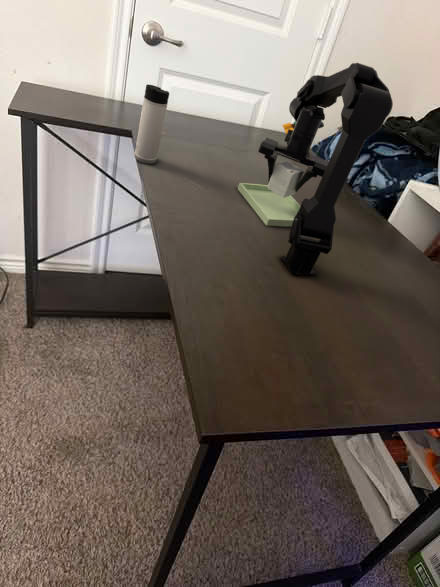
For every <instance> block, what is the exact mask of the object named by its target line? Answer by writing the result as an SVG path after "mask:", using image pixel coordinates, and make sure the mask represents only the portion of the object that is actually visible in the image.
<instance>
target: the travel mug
mask: <svg viewBox="0 0 440 587" xmlns="http://www.w3.org/2000/svg"><path fill="white" fill-rule="evenodd" d="M169 97H170V92H169V91H168V90H165V89H162V87H159V86H157V85H154V84H148V83H147V84H146V85H145V90H144V96H143V100H142V101H143V102H142V106H141V114H140V118H139V125H138V131H137V138H136V144H135V151H134V155H133V156H134V159H135V160H137V161H138V162H140V163H142V164H146V165H152V164H155V163H157V159H158V154H159V149H160V144H161V139H162V134H163V129H164V125H165V124H164V123H165V118H166V114H167V109H168V104H169Z"/></svg>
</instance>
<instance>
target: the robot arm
mask: <svg viewBox="0 0 440 587" xmlns="http://www.w3.org/2000/svg"><path fill="white" fill-rule="evenodd" d="M340 97H341V99H342V102H343V106H342V108H341V112H340V118H341V128H342V130H341V133H340V136H339V138H338V140H337V142H336V144H335V147H334V149H333V152H332V154H331V156H330V158H329V160H326V159H323V158H321V157H319V156H316V158H315V159H312V158H310V157H309V158H307V157H306V156H307V154H308V152H309V153H310V149H311V147H312V145H313V142H314V140H315V138H316V136H317V133H318V131H319V129H320V128H319V126H320V123H321V121H322V122H323V121H325V119H326V114H325V111H324V109H327V108H330V107H331V106H333V105H334V104H336V103H337V102H338V98H340ZM393 102H394V101H393V98H392V94H391V92H390V89H389V87H387V85H386V84H385V83H384V82H383V81H382V80H381V78H380V77H379V75H378V72H377V70H376V69H375V68H374V67H372V66H369V65H366V64H363V63H359V62H352V63H351V64H349V66H348V67H346V68H344V69H342V70H339V71H338V72H335V73H333V74H331V75H328V76H326V75H319V74H316V75H315V74H314V75H311V77H310V78H309V79H307V81H306V82H305V83H304V84H303V86H302V87H301V88H300V89H299V90H298V91H297V93H296V96H295V98H293V99H292V100H291V101H290V103H289V106H288V111H289V113H290V115H291V117H292V118H293V120H294V122H295V121H296V125H295V127H294V130H293V131H292V130H290V129H289V130H288V132H287V134H286V133H285V134H286V135H285V137H284V140H283V141H284V142H286V143H287V142H288V145H287V144H286V145H287V146H286V148H284V147H281V146H278V145H279V142H278V141H277V140H274V139H272V138H270V137H265V138H263V139H262V141H261V143H260V145H259V148H258V151H257V152H258V153H259V154H262V155H264V159H266V161H267V167H268V177H267V178H268V182H269V181H270V178H271V176H272V173H273V171H274V168H275V165H276V164H277V163H276V162H277V158H278V156H281V157H282V158H285V159H288V160H291V161H294V162H296V163H299V164H301V165H304V166H306V167H307V168H306V169H305V171H304V173H303V176H302V178H301V180H300V182H299V184H298V185H297V188H296V190H295V193H297V192H299V190H300V189H301V188H302V187H303V186H304V185H305V184H306V183H307V182H308V181H310V180H311V179H312V178H315V179H316V178H317V177H318V176H319V177H321V179H320V181H319V183H318V186H317V188H316V190H315V192H314V195H313V196H311V197H310V198H304V199H303V200H301V204H300V209H299V211H298V212H297V214H296V216H295V217H294V220H293V223H292V227H291V226H290V231H289V235H288V238H289V239H288V240H287V242H288V243H289V244H290V247H289V249H288V251H287V253H286V256H281V257H280V260H281V262H282V263H283V264H284V266H285V267H286V269H287V270H288V271H289V272H290V273H291V275H293V276H314V275H316V271H314V269H313V268H314V267H315V265H316V263H317V261H318V259H319V257H320V255H321V253H322V254H324V255H328V254H329V253H330V252H331V251H332V248H333V241H334V240H333V238H334V230H335V229H334V227H335V224H336V221H337V214H336V207H335V206H336V204H337V202H338V199H339V197H340V195H341V193H342V191H343V189H344V186H345V184H346V182H347V181H348V178H349V176H350V174H351V171H352V169H353V167H354V165H355V163H356V161H357V159H358V156H360V155H359V154H360V153H361V150H362V149H363V146H364V144H365V142H366V140H367V139H368V138H370V137H371V136H372V135H374V134H376V133H377V132H378V131H379V130H380V129H381V128H382V126H383V124H384V122H386V119H387V117H388V116H389V115H390V113H391V112H392V110H393V104H394V103H393ZM318 128H319V129H318Z"/></svg>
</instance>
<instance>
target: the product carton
mask: <svg viewBox="0 0 440 587" xmlns="http://www.w3.org/2000/svg"><path fill="white" fill-rule="evenodd" d="M304 173H305V170H304V169H302V168H300V167H299V166H297V165H295V164H294V163H292V162H291V161H288V160H285V161H282V162H277V163H275V167H274V171H273V173H272V176H271V178H270V181H268V184H267V185H268V186H267V188H268V189H270V190H271V191H273V192H274V193H276V194H278V195H279V196H281V197H282V198H285V197H288V196H294V195H295V194H296V192H295V190H296V188H297V185H298V184H299V182H300V180H301V179H302V177H303V175H304Z"/></svg>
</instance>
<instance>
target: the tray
mask: <svg viewBox="0 0 440 587" xmlns="http://www.w3.org/2000/svg"><path fill="white" fill-rule="evenodd" d="M267 186H268V184H257V183H246V182H239V183H238V185H237V190H238V191H239V194H241V195H242V197H243V198H244V199H245V201H246V202H247V203H248V204H249V205H250V207H251V208H252V210H254V212H255V214H257V216H258V218H260V220H261V221H262V222H263V223H264V225H265V226H267V227H290V228H291V227H292V223H293V220H294V217H295V216H296V214H297V212H298V211H299V209H300V206H301V204H299V202H298V201H297V200H296V199H295V198H294V197H293V195H291V196H288V197H285V198H282V197H281V196H279V195H278V194H276V193H274V192H273V191H271V190H270V189H268V188H267Z"/></svg>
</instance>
